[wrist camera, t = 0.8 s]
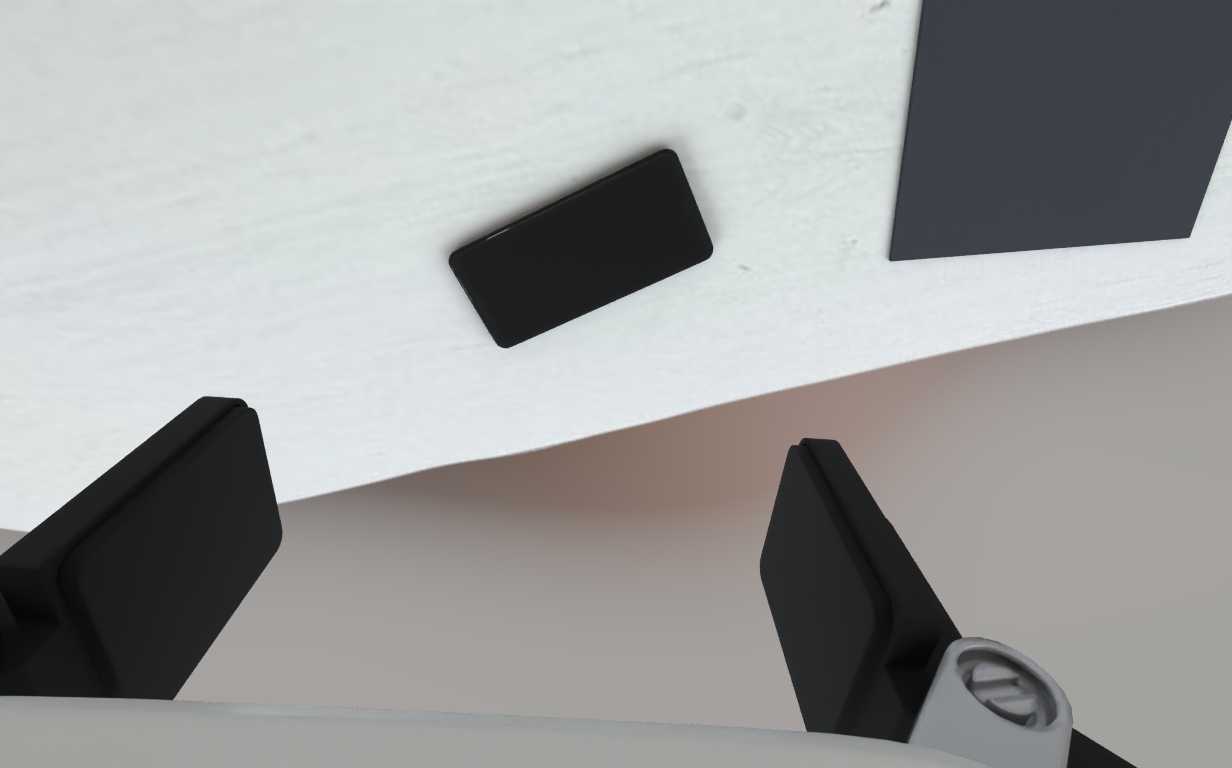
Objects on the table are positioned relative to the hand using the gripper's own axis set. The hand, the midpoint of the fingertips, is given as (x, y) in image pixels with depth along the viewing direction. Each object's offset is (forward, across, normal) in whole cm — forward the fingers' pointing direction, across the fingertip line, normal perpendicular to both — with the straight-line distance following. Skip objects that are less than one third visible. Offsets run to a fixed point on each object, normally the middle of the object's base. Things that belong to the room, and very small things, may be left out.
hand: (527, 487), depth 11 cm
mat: (+28, -26, -9) cm, 39 cm away
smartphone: (+28, 0, +3) cm, 28 cm away
